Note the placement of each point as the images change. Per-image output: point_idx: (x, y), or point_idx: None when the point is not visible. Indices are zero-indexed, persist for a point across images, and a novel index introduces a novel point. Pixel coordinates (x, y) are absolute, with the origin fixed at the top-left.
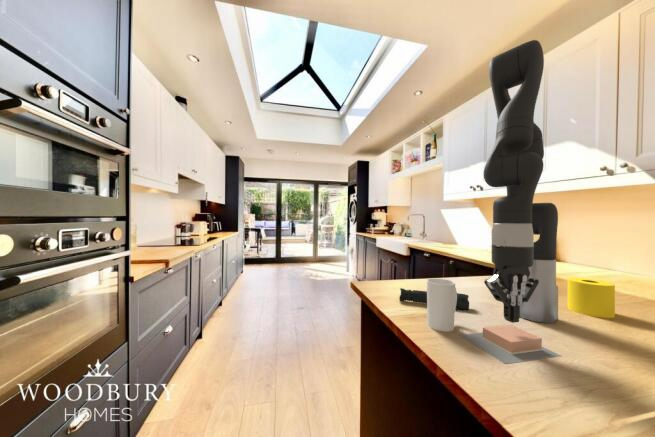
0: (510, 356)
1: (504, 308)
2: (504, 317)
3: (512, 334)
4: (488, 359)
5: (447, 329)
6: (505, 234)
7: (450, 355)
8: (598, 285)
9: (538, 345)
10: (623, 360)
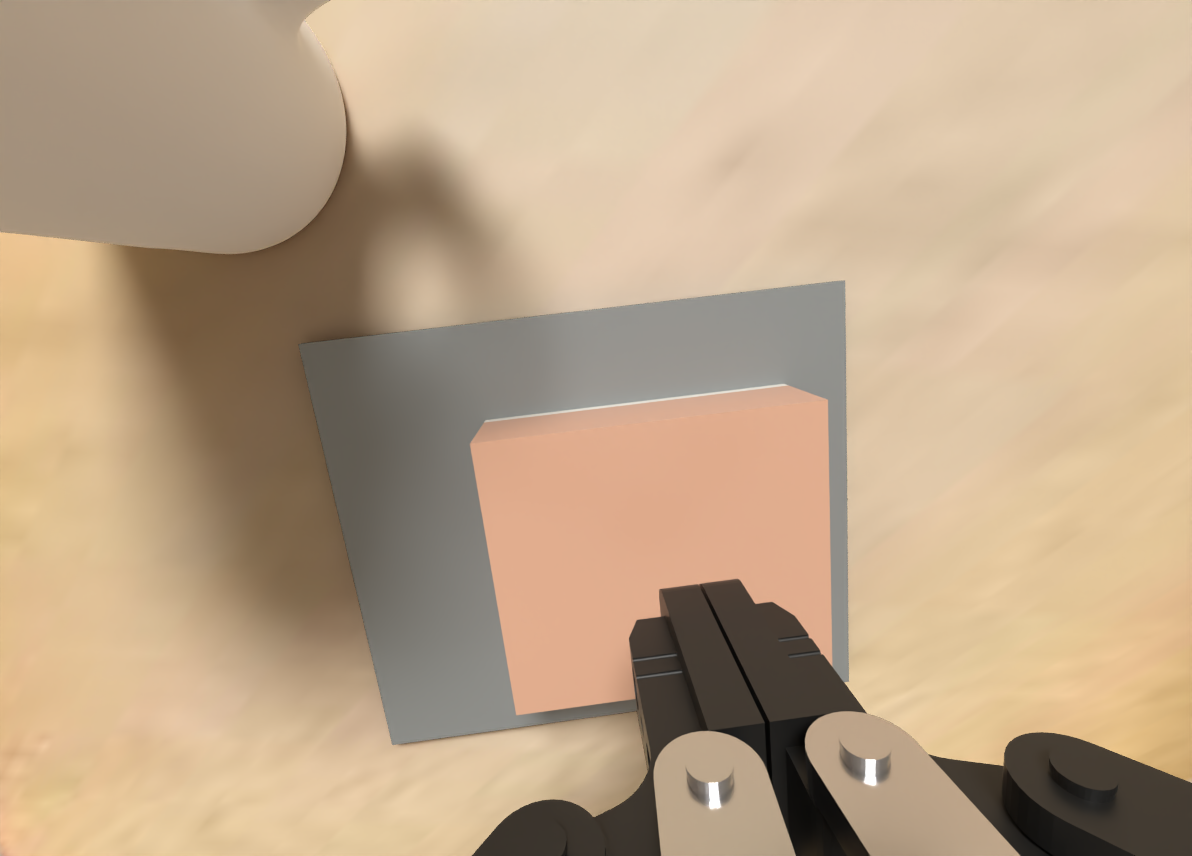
0: (494, 675)
1: (643, 723)
2: (637, 623)
3: (647, 596)
4: (337, 665)
5: (208, 252)
6: None
7: (82, 608)
8: None
9: None
10: (1173, 712)
